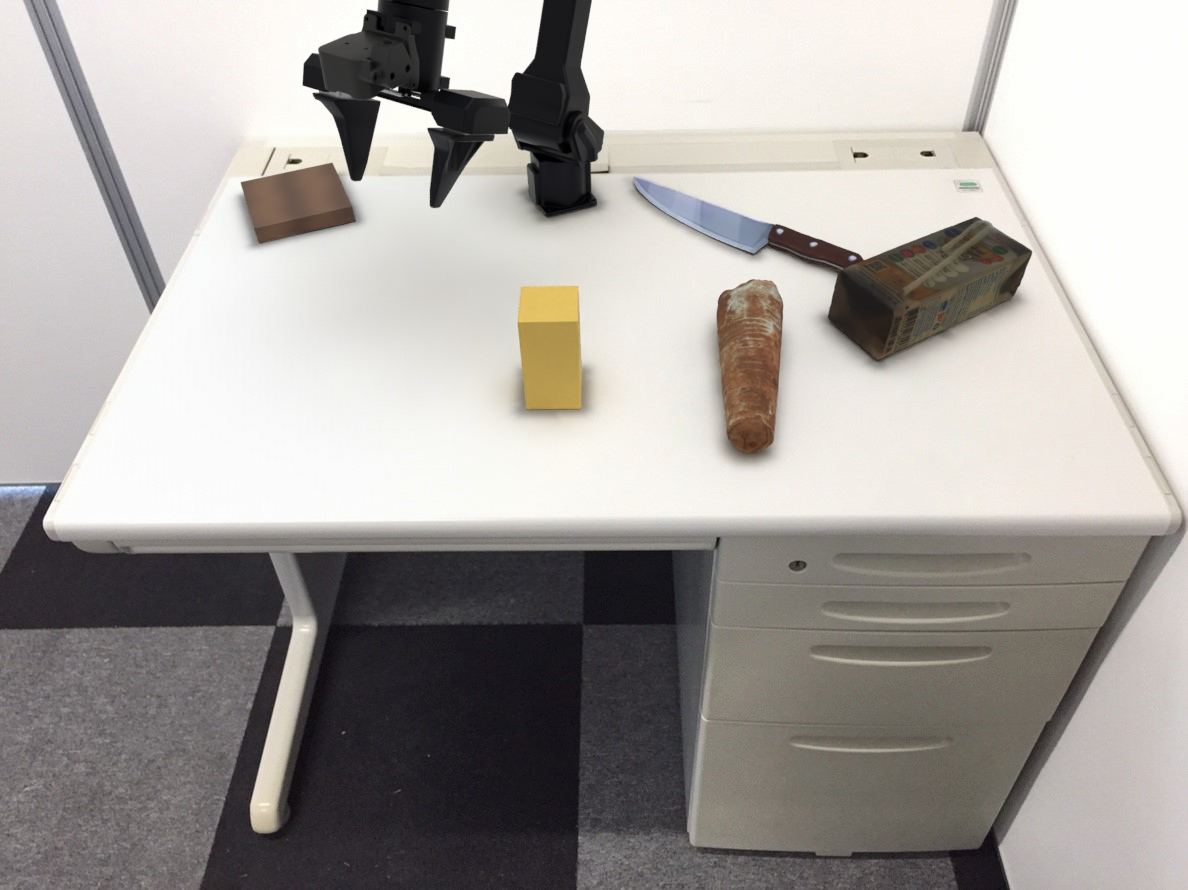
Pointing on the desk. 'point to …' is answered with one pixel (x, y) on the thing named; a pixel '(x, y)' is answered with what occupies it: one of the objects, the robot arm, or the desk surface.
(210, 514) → the desk surface
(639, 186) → the kitchen knife
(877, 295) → the beverage carton
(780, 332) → the orange-brown tapered rod
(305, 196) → the cutting board
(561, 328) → the butter
